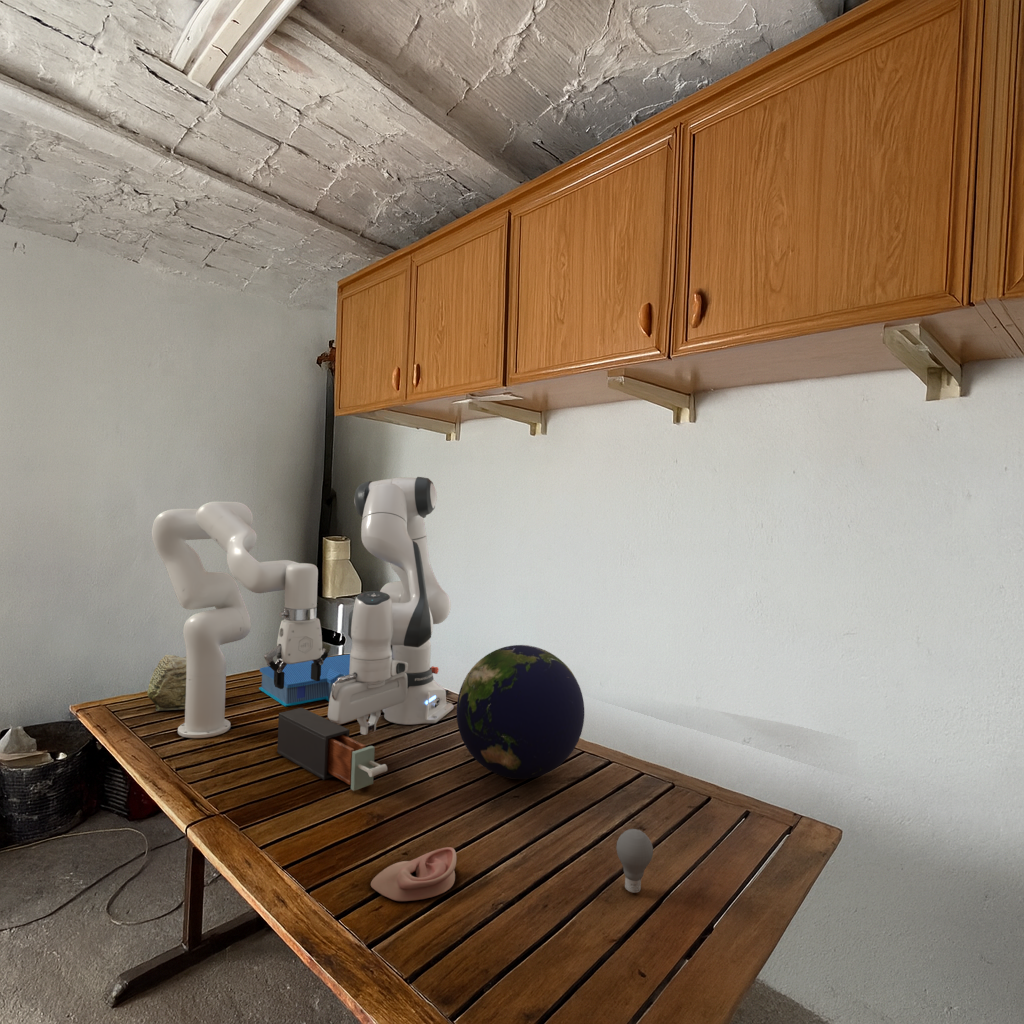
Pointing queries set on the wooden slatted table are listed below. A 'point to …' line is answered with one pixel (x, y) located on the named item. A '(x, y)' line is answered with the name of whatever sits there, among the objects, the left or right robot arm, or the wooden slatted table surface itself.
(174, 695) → the fossil
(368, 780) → the drawer
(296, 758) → the cabinet
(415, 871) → the anatomical model
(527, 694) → the globe
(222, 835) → the wooden slatted table surface
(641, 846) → the light bulb
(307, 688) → the model building
